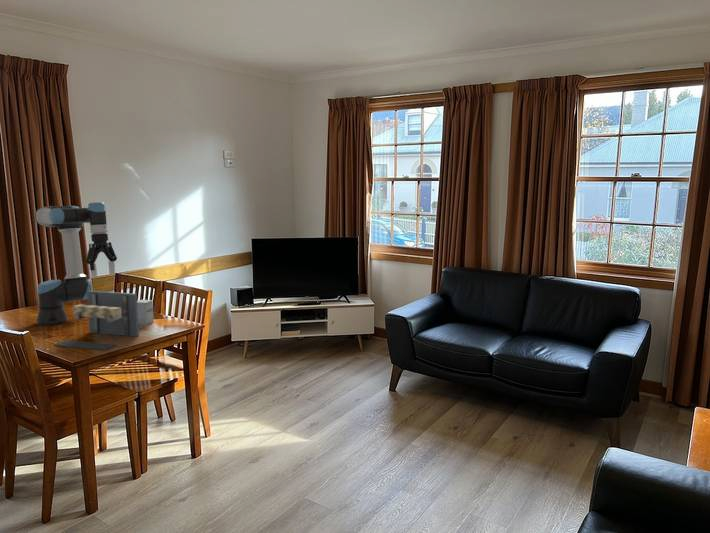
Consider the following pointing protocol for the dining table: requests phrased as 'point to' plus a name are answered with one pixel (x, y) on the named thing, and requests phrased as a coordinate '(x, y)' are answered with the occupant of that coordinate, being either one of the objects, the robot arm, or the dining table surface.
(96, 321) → the hook standards
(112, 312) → the birch rail
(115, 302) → the wall board
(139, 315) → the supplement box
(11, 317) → the dining table surface
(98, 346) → the rubber mat
